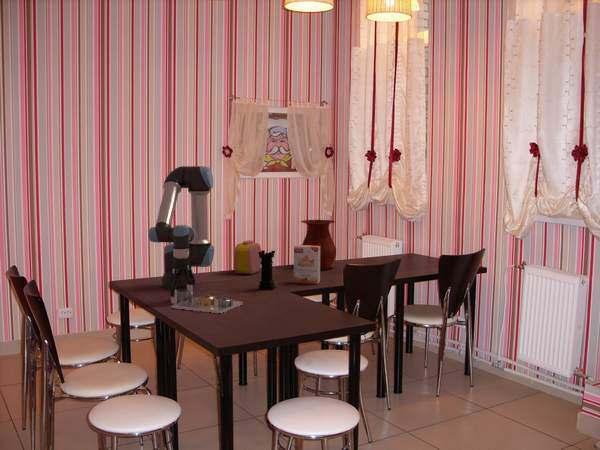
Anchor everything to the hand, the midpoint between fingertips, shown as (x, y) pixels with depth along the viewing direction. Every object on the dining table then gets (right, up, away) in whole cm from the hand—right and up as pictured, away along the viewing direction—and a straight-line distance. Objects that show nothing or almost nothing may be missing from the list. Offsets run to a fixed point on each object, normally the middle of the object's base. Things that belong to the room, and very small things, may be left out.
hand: (181, 300), depth 317 cm
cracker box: (+61, +4, +48) cm, 78 cm away
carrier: (+14, -1, -12) cm, 19 cm away
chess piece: (+40, +3, +31) cm, 50 cm away
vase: (+69, +9, +98) cm, 120 cm away
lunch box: (+26, +7, +79) cm, 84 cm away
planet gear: (0, 0, 0) cm, 0 cm away
